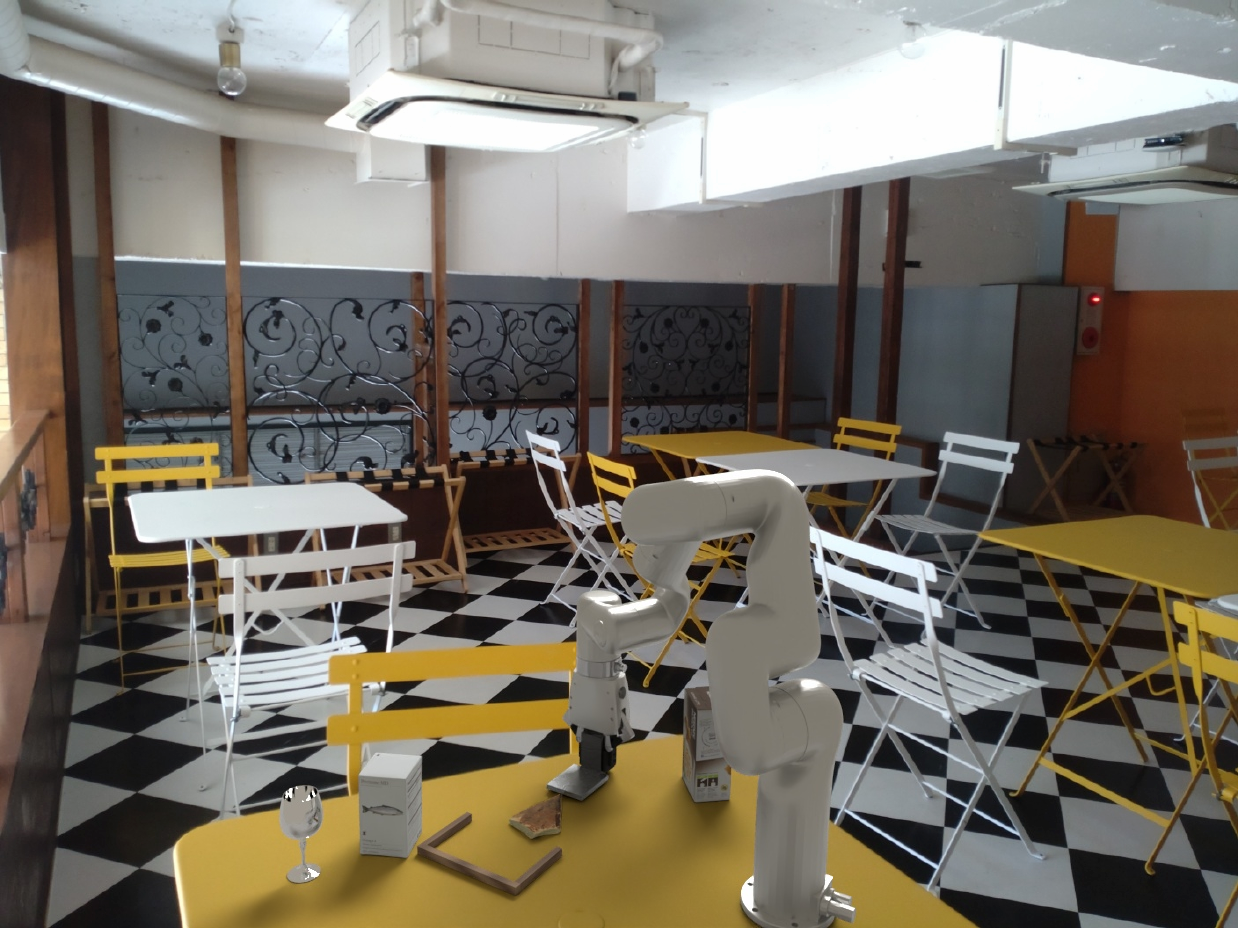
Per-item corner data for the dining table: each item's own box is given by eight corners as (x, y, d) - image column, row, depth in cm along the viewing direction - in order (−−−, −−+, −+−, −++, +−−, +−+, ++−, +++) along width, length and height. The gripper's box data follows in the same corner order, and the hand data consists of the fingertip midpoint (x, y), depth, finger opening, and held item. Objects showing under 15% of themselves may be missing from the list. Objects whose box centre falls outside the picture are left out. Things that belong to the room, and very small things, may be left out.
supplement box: (358, 855, 133) (355, 774, 131) (377, 827, 141) (375, 750, 138) (407, 859, 133) (405, 778, 130) (424, 831, 140) (422, 753, 138)
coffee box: (731, 800, 150) (735, 707, 147) (693, 803, 149) (697, 710, 146) (716, 772, 159) (719, 684, 156) (680, 775, 158) (682, 686, 155)
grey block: (586, 758, 162) (586, 721, 161) (620, 769, 158) (621, 731, 157) (546, 788, 152) (546, 748, 150) (581, 800, 148) (582, 760, 147)
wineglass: (280, 888, 125) (276, 807, 123) (283, 864, 131) (280, 785, 129) (324, 882, 127) (321, 801, 125) (326, 858, 132) (323, 781, 130)
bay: (562, 855, 134) (562, 848, 134) (515, 895, 125) (515, 887, 125) (467, 818, 143) (466, 811, 143) (417, 853, 134) (417, 845, 134)
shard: (561, 801, 150) (561, 790, 150) (592, 820, 144) (592, 809, 144) (507, 825, 143) (507, 814, 142) (538, 846, 137) (538, 835, 137)
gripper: (652, 667, 154) (650, 769, 157) (570, 647, 163) (569, 744, 166) (629, 682, 148) (627, 788, 151) (545, 661, 156) (544, 761, 159)
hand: (597, 764), depth 158 cm, fingers closed on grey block, 4 cm apart
